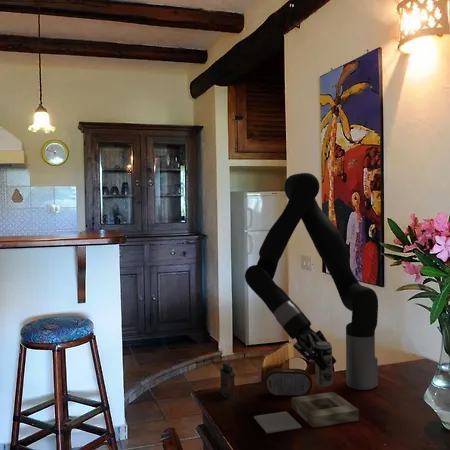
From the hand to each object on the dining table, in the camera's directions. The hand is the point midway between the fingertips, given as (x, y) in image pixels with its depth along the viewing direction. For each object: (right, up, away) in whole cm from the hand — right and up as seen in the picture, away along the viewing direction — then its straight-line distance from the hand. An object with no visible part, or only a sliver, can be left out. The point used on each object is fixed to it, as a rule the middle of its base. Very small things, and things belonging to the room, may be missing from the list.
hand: (329, 366), depth 139 cm
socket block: (-1, -14, +2) cm, 14 cm away
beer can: (-1, -6, +1) cm, 6 cm away
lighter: (-29, -14, +17) cm, 37 cm away
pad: (-15, -15, -4) cm, 22 cm away
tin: (-10, -14, +16) cm, 23 cm away
